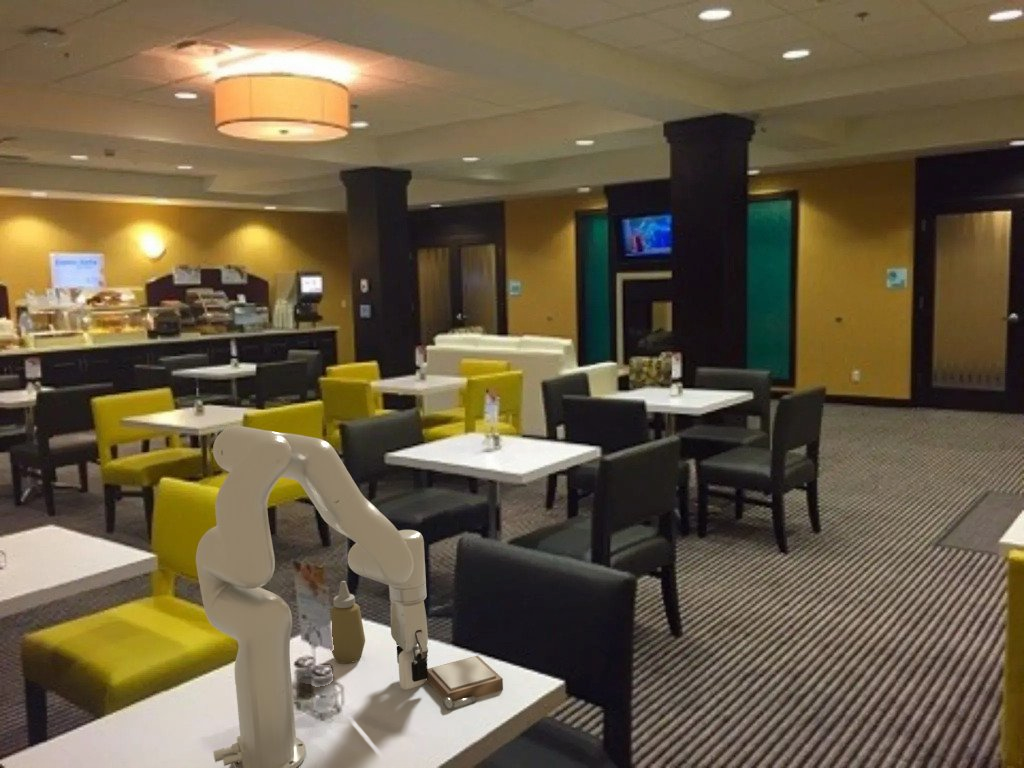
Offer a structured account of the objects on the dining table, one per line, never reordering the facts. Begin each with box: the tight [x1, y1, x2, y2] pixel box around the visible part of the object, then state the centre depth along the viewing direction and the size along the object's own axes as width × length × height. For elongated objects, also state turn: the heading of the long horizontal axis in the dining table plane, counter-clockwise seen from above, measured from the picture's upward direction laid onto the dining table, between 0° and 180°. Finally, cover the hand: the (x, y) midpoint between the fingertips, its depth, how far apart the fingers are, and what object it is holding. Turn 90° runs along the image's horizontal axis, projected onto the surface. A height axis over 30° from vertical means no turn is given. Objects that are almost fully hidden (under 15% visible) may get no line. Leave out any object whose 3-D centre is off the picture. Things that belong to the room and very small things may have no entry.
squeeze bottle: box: [329, 580, 366, 664], centre depth 193 cm, size 8×8×18 cm
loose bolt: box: [442, 696, 476, 711], centre depth 171 cm, size 6×3×3 cm
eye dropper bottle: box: [397, 644, 427, 690], centre depth 179 cm, size 4×6×12 cm
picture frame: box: [426, 655, 504, 701], centre depth 179 cm, size 12×12×3 cm
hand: (412, 670), depth 180 cm, fingers open, 8 cm apart
